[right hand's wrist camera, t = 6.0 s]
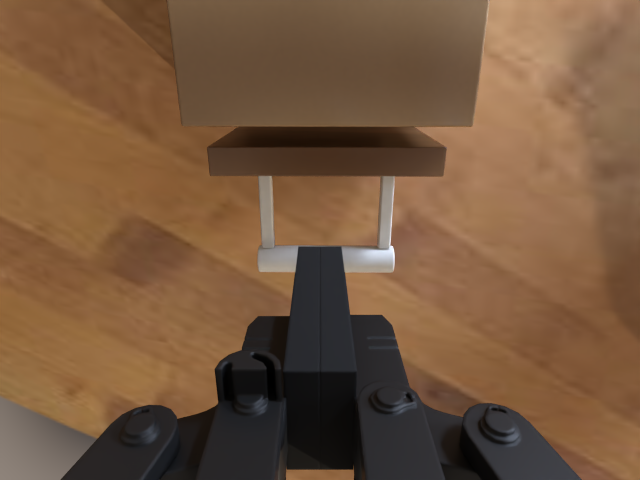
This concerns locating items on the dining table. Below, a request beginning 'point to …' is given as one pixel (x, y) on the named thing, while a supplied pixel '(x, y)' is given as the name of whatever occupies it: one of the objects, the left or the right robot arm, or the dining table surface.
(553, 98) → the dining table surface
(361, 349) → the right robot arm
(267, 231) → the drawer
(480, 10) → the cabinet
